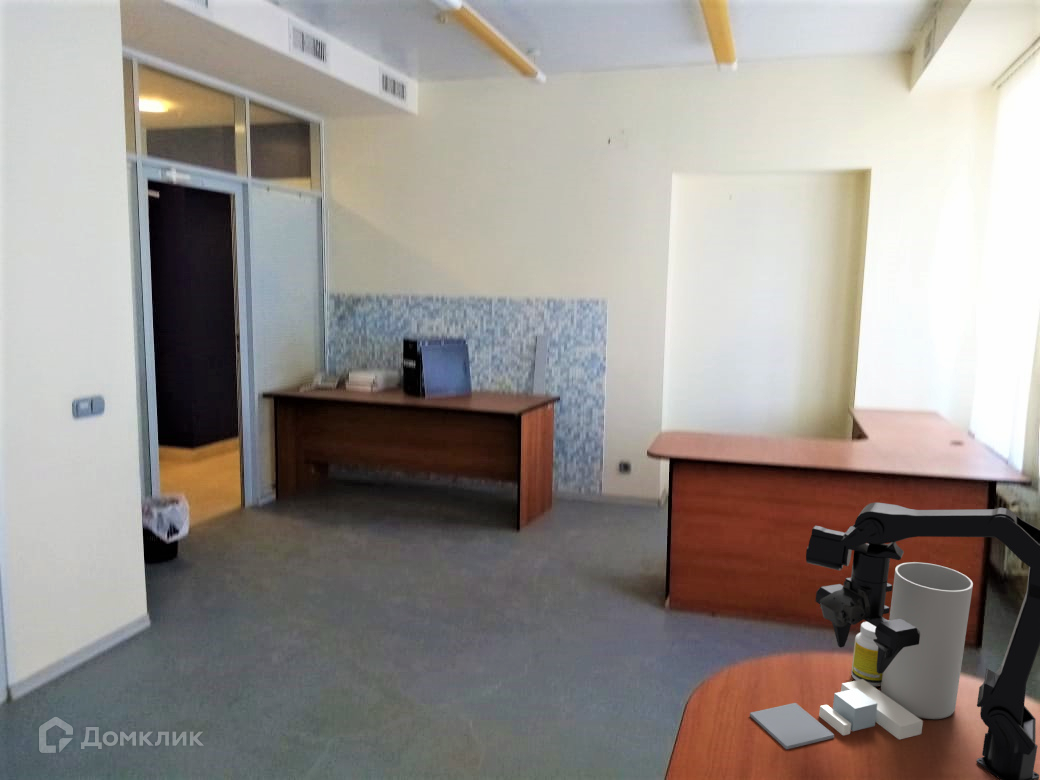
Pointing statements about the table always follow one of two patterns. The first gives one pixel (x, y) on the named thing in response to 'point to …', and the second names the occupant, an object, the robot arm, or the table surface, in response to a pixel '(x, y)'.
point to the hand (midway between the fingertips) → (860, 659)
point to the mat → (791, 725)
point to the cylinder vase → (929, 638)
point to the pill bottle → (866, 656)
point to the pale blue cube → (855, 708)
